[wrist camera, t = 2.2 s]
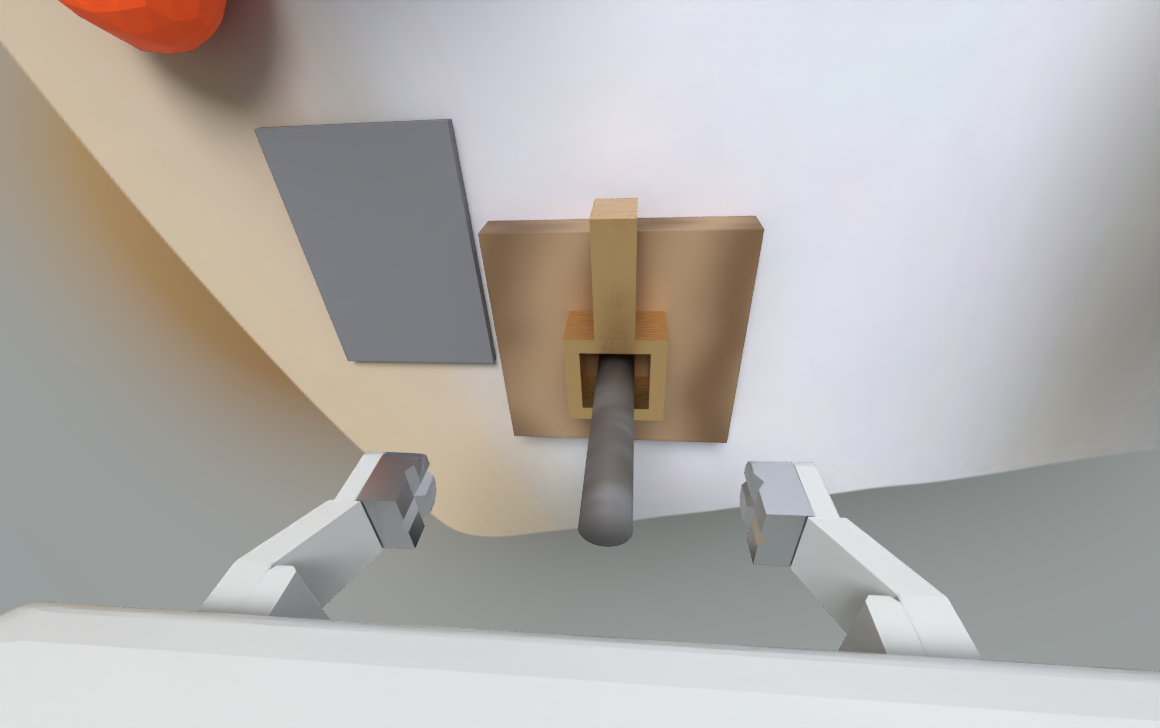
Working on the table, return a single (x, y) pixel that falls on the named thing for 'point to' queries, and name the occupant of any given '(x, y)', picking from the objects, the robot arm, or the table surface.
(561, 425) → the stand
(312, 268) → the mat
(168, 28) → the pumpkin
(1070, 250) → the table surface
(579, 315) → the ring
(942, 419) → the table surface
